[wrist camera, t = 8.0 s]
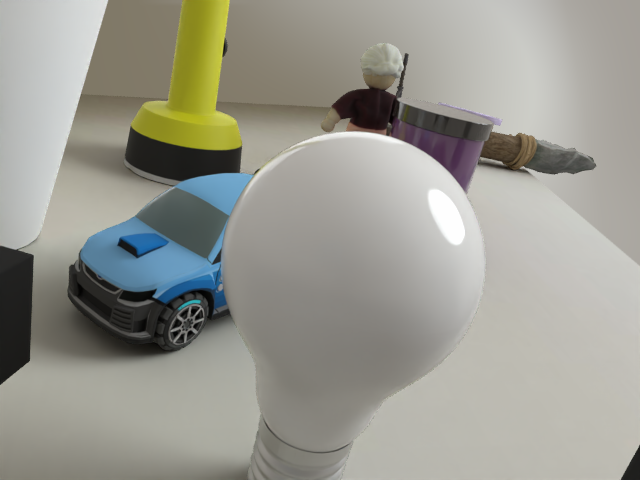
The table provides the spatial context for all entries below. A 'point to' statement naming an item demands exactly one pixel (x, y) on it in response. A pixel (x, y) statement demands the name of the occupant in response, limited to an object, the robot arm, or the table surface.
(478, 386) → the table surface
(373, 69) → the grandmother figurine
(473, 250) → the lightbulb
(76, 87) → the cup
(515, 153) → the stone tool
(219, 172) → the flashlight
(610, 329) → the table surface
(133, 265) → the toy car
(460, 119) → the jar
